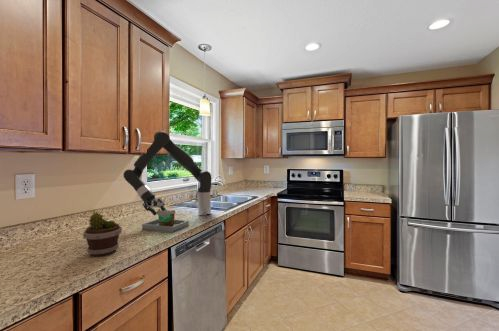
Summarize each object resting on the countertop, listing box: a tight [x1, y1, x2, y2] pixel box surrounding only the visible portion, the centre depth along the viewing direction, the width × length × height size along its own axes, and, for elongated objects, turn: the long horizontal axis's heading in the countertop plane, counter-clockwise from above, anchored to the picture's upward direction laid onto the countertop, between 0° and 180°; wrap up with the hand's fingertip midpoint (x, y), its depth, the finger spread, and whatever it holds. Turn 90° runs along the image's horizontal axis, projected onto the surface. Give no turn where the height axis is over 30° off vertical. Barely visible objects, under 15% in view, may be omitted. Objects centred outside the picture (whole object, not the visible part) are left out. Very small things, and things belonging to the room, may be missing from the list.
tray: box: [141, 218, 190, 233], centre depth 149 cm, size 16×22×3 cm
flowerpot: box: [82, 210, 123, 257], centre depth 108 cm, size 14×15×20 cm
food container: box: [156, 208, 176, 227], centre depth 148 cm, size 12×6×10 cm, turn 71°
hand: (160, 213), depth 150 cm, fingers open, 8 cm apart
